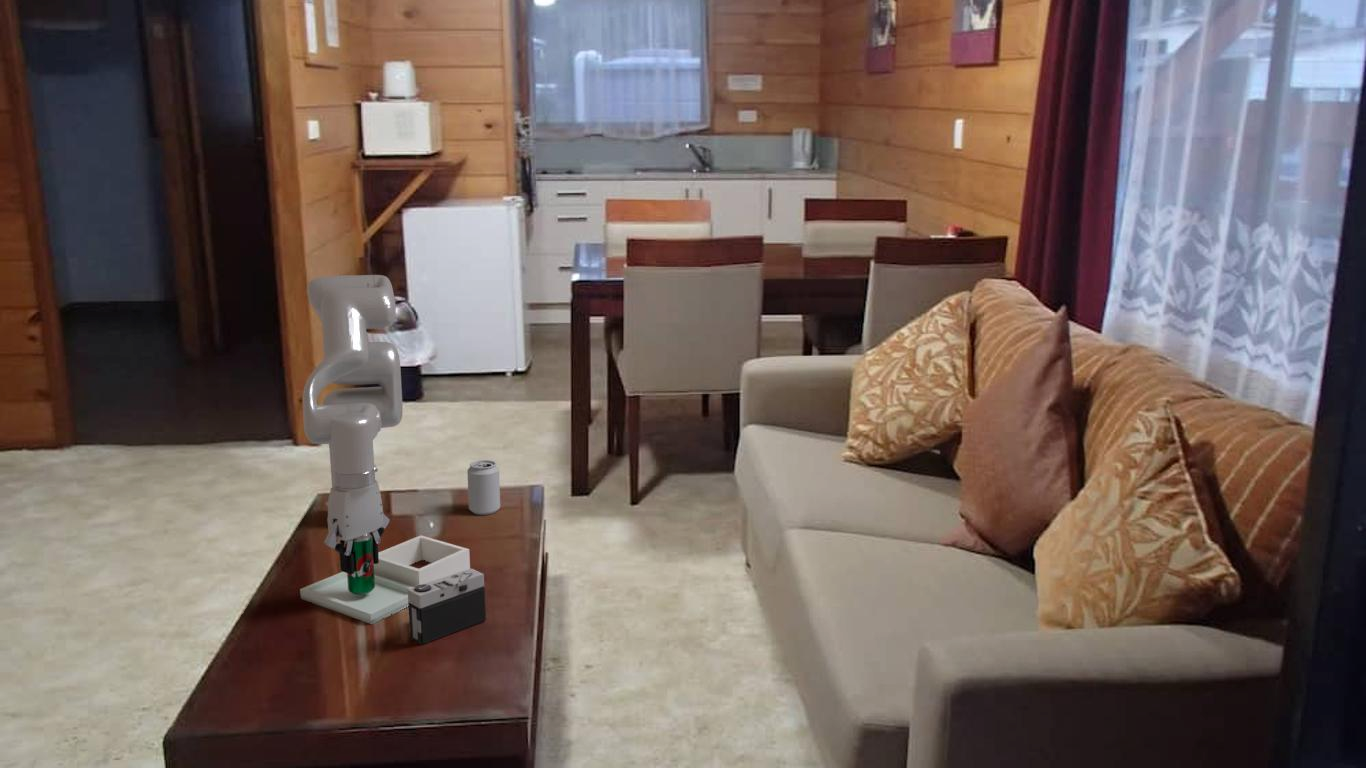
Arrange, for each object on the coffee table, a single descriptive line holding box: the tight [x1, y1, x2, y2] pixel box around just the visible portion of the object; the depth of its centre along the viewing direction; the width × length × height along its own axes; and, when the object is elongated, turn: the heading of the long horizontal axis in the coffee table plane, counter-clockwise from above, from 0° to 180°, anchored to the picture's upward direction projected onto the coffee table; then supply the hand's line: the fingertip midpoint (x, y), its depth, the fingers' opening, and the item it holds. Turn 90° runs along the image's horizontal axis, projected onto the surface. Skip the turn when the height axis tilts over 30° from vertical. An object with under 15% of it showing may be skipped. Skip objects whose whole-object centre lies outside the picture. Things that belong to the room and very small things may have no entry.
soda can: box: [344, 533, 375, 595], centre depth 207 cm, size 5×5×12 cm
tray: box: [299, 571, 413, 625], centre depth 209 cm, size 20×13×2 cm, turn 57°
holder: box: [374, 534, 471, 587], centre depth 220 cm, size 14×14×5 cm
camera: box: [408, 568, 487, 646], centre depth 197 cm, size 14×8×10 cm, turn 136°
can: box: [466, 459, 501, 516], centre depth 257 cm, size 8×8×12 cm
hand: (360, 566), depth 207 cm, fingers open, 5 cm apart
